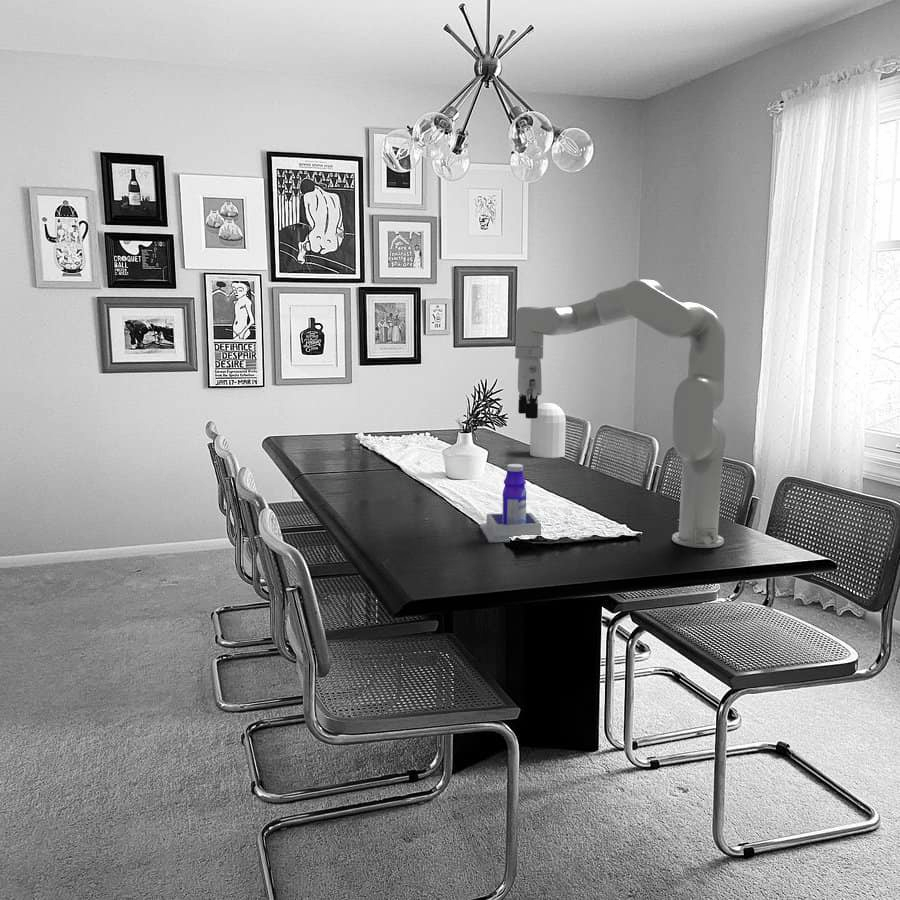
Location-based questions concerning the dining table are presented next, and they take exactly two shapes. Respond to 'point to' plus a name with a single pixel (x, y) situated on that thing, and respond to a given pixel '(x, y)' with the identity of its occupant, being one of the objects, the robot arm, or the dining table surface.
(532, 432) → the container
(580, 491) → the dining table surface
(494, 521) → the shallow grey tray
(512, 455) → the dining table surface
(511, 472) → the bottle
